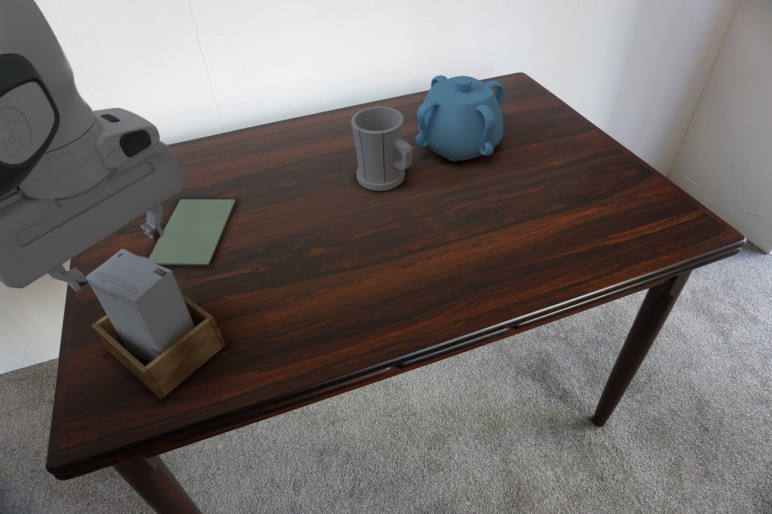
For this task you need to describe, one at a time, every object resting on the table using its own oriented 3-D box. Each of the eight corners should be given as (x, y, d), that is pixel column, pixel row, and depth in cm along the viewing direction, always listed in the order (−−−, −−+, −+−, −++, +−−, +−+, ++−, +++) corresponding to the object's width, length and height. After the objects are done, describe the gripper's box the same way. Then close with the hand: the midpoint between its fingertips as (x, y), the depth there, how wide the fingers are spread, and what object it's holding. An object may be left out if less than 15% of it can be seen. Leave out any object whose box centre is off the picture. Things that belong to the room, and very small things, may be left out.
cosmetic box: (128, 354, 69) (78, 278, 59) (161, 322, 73) (119, 245, 63) (175, 378, 66) (131, 302, 56) (207, 343, 70) (171, 266, 60)
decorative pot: (510, 132, 105) (519, 66, 95) (488, 175, 95) (496, 107, 85) (434, 118, 110) (435, 54, 101) (405, 158, 100) (404, 91, 90)
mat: (209, 265, 81) (208, 263, 81) (146, 264, 82) (145, 263, 81) (235, 201, 92) (235, 199, 92) (181, 200, 93) (180, 199, 93)
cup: (415, 164, 98) (415, 106, 90) (412, 194, 92) (411, 134, 83) (360, 163, 99) (354, 105, 91) (353, 192, 93) (347, 133, 84)
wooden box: (161, 399, 64) (143, 372, 60) (110, 353, 70) (90, 325, 66) (226, 345, 70) (213, 316, 66) (174, 305, 75) (160, 277, 71)
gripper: (-45, 231, 42) (43, 334, 51) (170, 119, 52) (209, 222, 62) (-76, 202, 44) (14, 305, 54) (134, 101, 55) (177, 202, 65)
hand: (119, 260), depth 58 cm, fingers open, 8 cm apart
